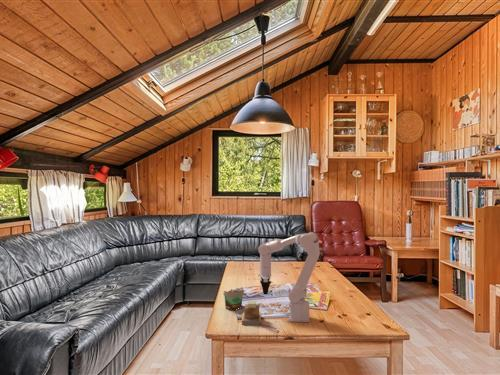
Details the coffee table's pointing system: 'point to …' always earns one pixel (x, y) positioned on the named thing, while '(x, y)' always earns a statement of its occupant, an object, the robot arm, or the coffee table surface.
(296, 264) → the coffee table surface
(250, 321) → the dock
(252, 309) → the brown block
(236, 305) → the food container
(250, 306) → the block
